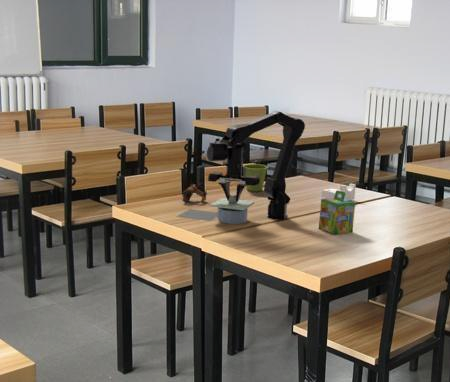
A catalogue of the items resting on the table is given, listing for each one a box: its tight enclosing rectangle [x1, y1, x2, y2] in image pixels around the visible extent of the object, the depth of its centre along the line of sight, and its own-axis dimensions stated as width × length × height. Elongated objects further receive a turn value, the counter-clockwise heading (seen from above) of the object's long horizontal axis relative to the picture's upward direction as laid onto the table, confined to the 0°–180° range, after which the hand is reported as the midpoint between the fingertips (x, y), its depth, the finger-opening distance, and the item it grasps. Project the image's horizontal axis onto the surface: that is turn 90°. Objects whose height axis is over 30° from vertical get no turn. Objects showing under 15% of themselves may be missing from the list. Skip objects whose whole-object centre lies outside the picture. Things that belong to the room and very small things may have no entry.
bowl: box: [216, 207, 249, 225], centre depth 269 cm, size 11×11×5 cm
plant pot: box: [243, 163, 269, 192], centre depth 327 cm, size 12×12×11 cm
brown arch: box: [182, 183, 208, 204], centre depth 298 cm, size 12×10×8 cm
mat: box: [175, 208, 217, 222], centre depth 275 cm, size 14×14×1 cm
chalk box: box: [318, 189, 356, 235], centre depth 259 cm, size 9×9×15 cm
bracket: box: [321, 183, 357, 201], centre depth 315 cm, size 13×7×8 cm, turn 40°
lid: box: [210, 194, 255, 210], centre depth 267 cm, size 13×13×4 cm
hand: (232, 201), depth 268 cm, fingers closed on lid, 3 cm apart
